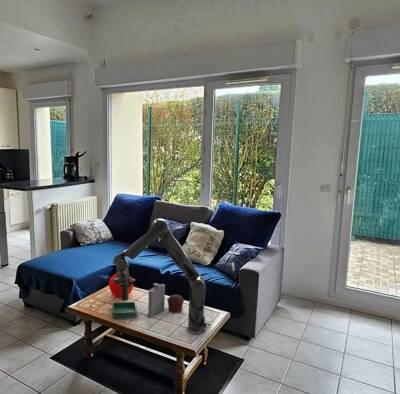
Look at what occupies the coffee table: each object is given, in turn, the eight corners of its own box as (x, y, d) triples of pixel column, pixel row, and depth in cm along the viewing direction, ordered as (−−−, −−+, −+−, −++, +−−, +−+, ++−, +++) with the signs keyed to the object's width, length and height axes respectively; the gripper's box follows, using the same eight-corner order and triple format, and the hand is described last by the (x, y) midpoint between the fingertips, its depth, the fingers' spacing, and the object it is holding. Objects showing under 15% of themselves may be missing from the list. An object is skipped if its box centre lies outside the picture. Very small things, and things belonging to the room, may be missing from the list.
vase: (123, 302, 243) (123, 262, 239) (103, 296, 253) (103, 257, 249) (138, 294, 258) (138, 256, 254) (119, 288, 268) (119, 251, 264)
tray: (134, 306, 238) (134, 301, 237) (136, 317, 223) (136, 312, 222) (112, 307, 236) (112, 302, 235) (113, 318, 221) (113, 313, 220)
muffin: (170, 314, 228) (170, 300, 226) (164, 307, 238) (164, 293, 237) (186, 312, 231) (187, 298, 230) (180, 304, 242) (180, 291, 240)
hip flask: (150, 317, 222) (151, 288, 220) (146, 315, 225) (146, 286, 222) (165, 309, 235) (166, 281, 232) (160, 307, 237) (161, 279, 235)
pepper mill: (128, 297, 230) (128, 279, 229) (128, 300, 226) (128, 282, 224) (120, 297, 230) (121, 279, 228) (121, 300, 225) (121, 282, 223)
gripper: (135, 269, 217) (136, 280, 230) (112, 268, 217) (115, 279, 231) (134, 281, 212) (135, 291, 226) (111, 280, 213) (113, 290, 226)
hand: (125, 285), depth 228 cm, fingers closed on pepper mill, 5 cm apart
